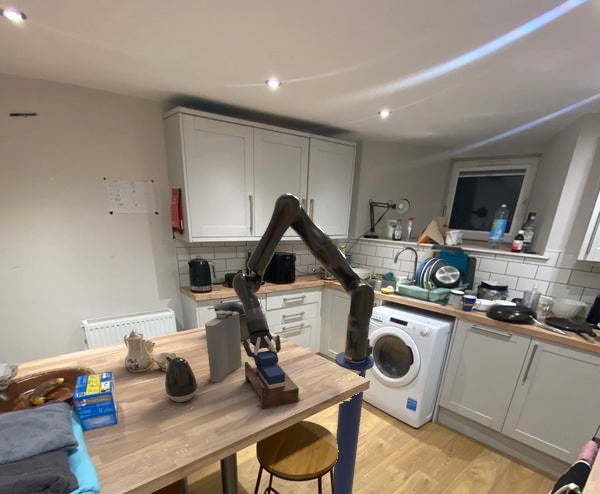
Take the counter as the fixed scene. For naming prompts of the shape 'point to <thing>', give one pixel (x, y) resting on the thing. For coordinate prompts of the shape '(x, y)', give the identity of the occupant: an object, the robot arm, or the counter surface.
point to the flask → (223, 344)
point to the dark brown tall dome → (180, 380)
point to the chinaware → (143, 354)
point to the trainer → (270, 370)
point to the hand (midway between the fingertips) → (267, 364)
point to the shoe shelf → (275, 394)
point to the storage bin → (239, 308)
